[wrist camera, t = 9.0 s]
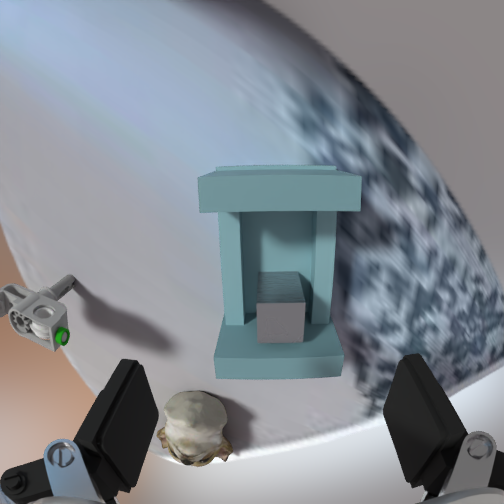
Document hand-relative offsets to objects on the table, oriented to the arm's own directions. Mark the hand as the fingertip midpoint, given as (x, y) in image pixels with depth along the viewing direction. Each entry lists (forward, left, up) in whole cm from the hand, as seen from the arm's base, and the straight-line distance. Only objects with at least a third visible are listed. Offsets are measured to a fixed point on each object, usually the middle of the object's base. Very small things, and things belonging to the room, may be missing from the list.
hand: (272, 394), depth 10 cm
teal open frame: (+1, +1, -19) cm, 19 cm away
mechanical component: (+4, -22, -19) cm, 29 cm away
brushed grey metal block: (+4, +1, -17) cm, 18 cm away
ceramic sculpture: (+24, -9, -19) cm, 32 cm away
